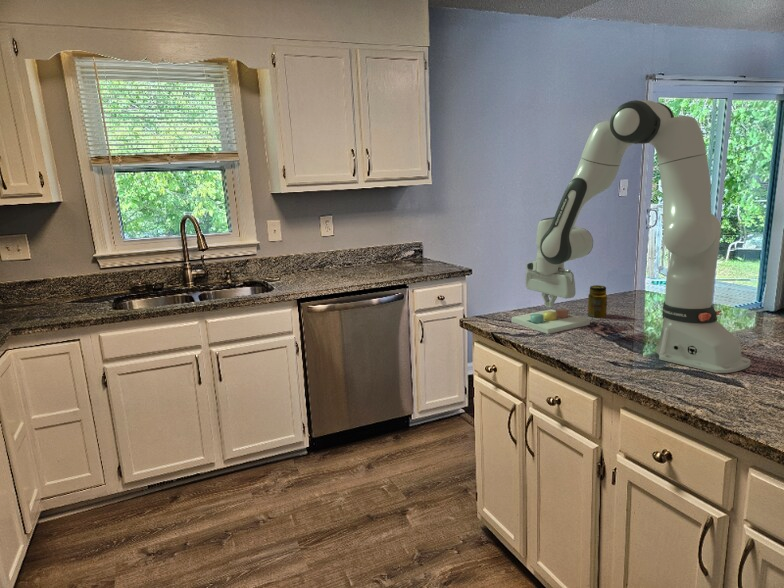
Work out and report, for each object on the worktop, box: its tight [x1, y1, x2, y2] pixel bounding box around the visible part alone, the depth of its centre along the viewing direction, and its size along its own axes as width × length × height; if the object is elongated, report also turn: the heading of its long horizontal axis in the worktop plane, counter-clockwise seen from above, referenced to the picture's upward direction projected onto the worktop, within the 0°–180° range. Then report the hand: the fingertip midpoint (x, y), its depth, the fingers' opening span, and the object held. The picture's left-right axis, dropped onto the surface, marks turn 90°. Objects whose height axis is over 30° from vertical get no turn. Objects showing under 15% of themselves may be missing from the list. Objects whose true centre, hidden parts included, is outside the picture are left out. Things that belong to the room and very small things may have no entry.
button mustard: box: [543, 311, 556, 321], centre depth 173 cm, size 4×4×4 cm
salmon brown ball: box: [555, 308, 570, 319], centre depth 175 cm, size 4×4×4 cm
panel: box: [511, 308, 591, 335], centre depth 173 cm, size 18×18×3 cm
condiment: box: [587, 285, 608, 319], centre depth 177 cm, size 7×8×12 cm
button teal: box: [531, 314, 544, 324], centre depth 171 cm, size 4×4×4 cm
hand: (549, 306), depth 172 cm, fingers closed
